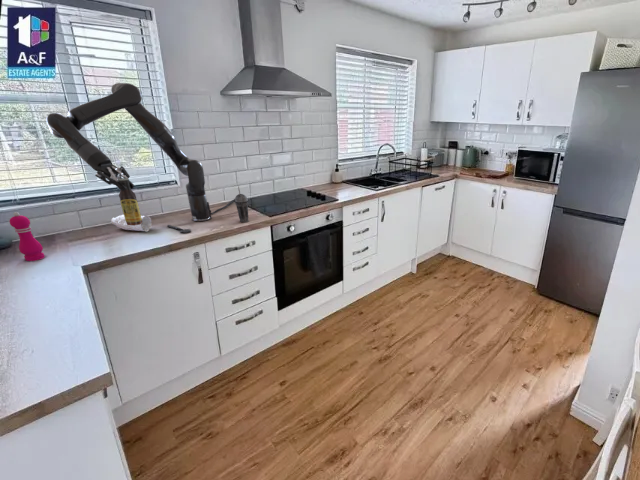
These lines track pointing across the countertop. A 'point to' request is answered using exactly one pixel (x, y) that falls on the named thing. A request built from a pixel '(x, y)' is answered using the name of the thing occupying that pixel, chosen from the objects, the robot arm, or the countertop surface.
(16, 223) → the pepper mill
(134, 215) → the sauce bottle
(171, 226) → the spoon
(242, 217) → the beverage cup
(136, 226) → the white bottle
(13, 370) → the countertop surface
